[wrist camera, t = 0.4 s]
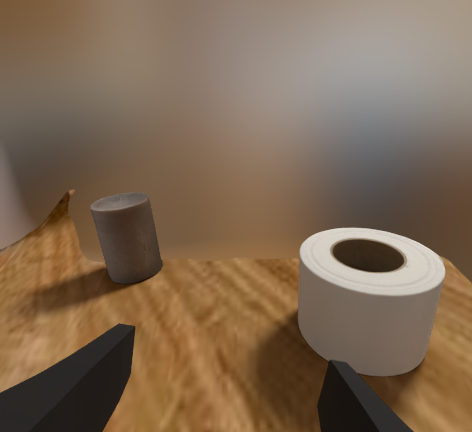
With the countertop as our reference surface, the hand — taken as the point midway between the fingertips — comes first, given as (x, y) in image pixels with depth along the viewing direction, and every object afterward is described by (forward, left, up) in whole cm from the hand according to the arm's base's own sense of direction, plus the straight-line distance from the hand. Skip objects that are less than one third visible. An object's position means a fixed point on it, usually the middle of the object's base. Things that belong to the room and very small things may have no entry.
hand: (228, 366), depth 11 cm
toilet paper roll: (+23, -15, -20) cm, 34 cm away
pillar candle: (+40, +20, -20) cm, 49 cm away
